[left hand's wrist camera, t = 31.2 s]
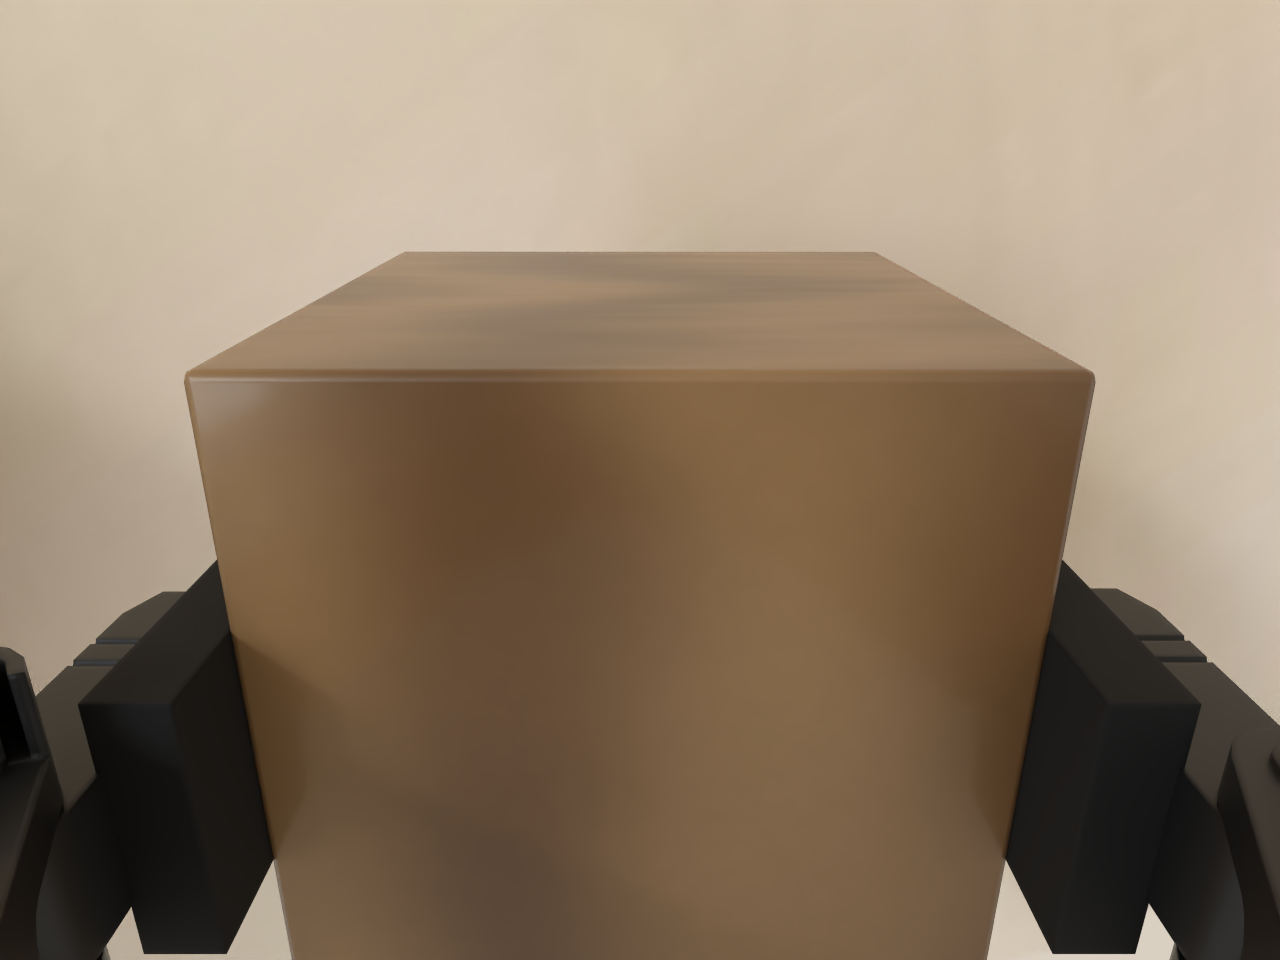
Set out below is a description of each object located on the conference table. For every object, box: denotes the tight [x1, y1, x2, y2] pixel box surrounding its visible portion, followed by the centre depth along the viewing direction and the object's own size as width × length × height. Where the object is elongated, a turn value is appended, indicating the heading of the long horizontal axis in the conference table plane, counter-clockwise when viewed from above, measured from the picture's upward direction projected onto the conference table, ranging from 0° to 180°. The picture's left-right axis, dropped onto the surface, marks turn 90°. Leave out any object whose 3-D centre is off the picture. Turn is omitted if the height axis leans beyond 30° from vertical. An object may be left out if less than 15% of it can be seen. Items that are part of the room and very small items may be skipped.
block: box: [184, 252, 1095, 960], centre depth 12 cm, size 8×8×8 cm
